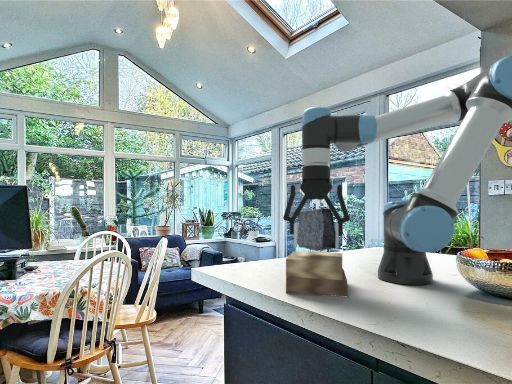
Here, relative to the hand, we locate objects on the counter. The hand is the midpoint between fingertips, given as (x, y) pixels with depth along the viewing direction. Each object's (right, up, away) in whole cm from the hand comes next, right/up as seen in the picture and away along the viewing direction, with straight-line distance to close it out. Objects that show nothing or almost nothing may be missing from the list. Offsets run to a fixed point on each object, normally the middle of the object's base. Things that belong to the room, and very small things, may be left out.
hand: (316, 247), depth 94 cm
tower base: (0, -11, 0) cm, 11 cm away
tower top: (0, -7, 0) cm, 7 cm away
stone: (0, -1, 0) cm, 1 cm away
